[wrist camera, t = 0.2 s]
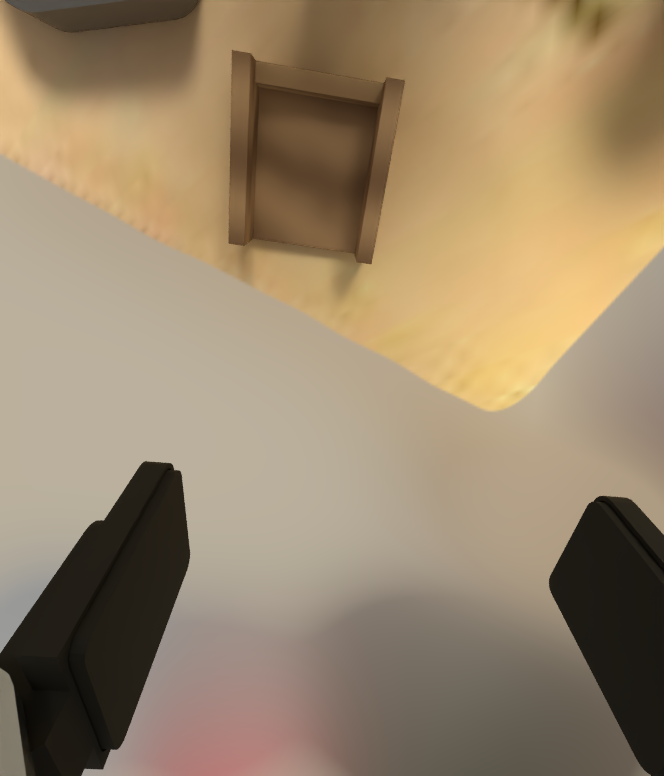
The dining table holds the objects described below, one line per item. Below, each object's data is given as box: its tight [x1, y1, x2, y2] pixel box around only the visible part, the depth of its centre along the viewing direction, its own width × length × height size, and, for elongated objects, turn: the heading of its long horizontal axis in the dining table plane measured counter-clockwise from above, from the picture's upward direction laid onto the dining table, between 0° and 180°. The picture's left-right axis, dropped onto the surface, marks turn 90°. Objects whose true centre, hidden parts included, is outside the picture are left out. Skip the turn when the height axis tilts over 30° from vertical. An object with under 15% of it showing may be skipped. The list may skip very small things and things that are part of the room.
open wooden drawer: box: [229, 50, 405, 264], centre depth 31 cm, size 12×11×5 cm
